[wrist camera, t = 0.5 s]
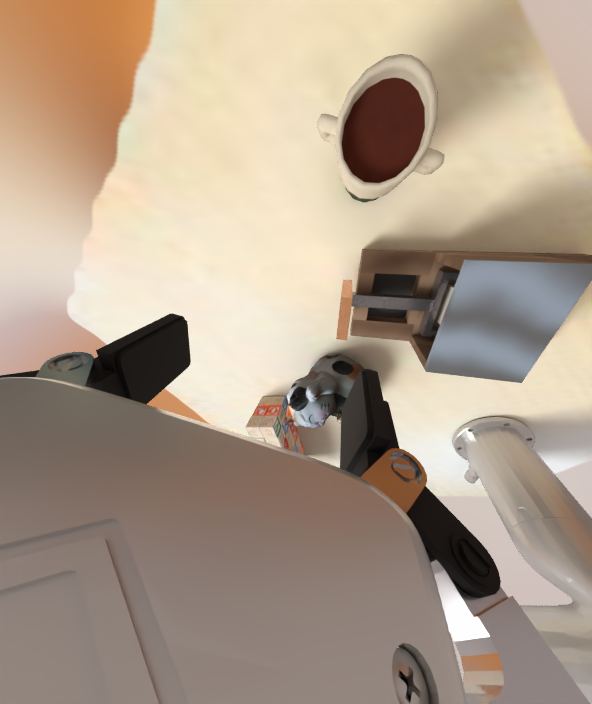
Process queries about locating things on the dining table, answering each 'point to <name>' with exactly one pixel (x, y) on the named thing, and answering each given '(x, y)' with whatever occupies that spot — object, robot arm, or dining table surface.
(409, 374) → the dining table surface
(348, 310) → the sled
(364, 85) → the character mug
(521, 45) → the dining table surface
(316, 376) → the lucky cat figurine
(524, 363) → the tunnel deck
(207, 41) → the dining table surface
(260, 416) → the stack of blocks
